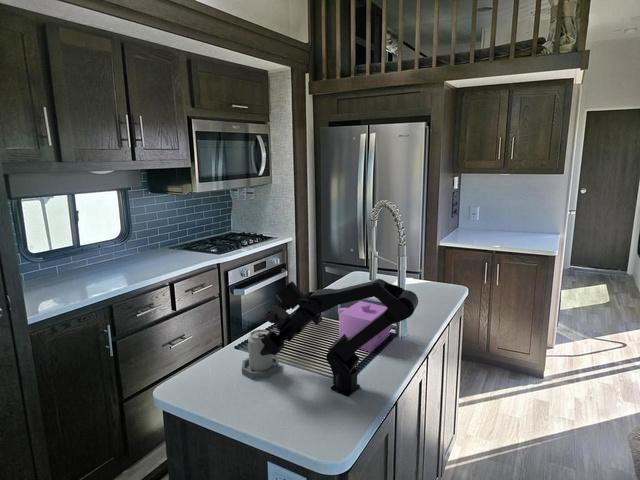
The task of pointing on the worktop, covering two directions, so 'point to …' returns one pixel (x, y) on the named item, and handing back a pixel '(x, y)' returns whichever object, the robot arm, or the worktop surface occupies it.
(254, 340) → the can
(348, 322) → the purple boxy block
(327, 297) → the robot arm
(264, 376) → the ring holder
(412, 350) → the worktop surface
